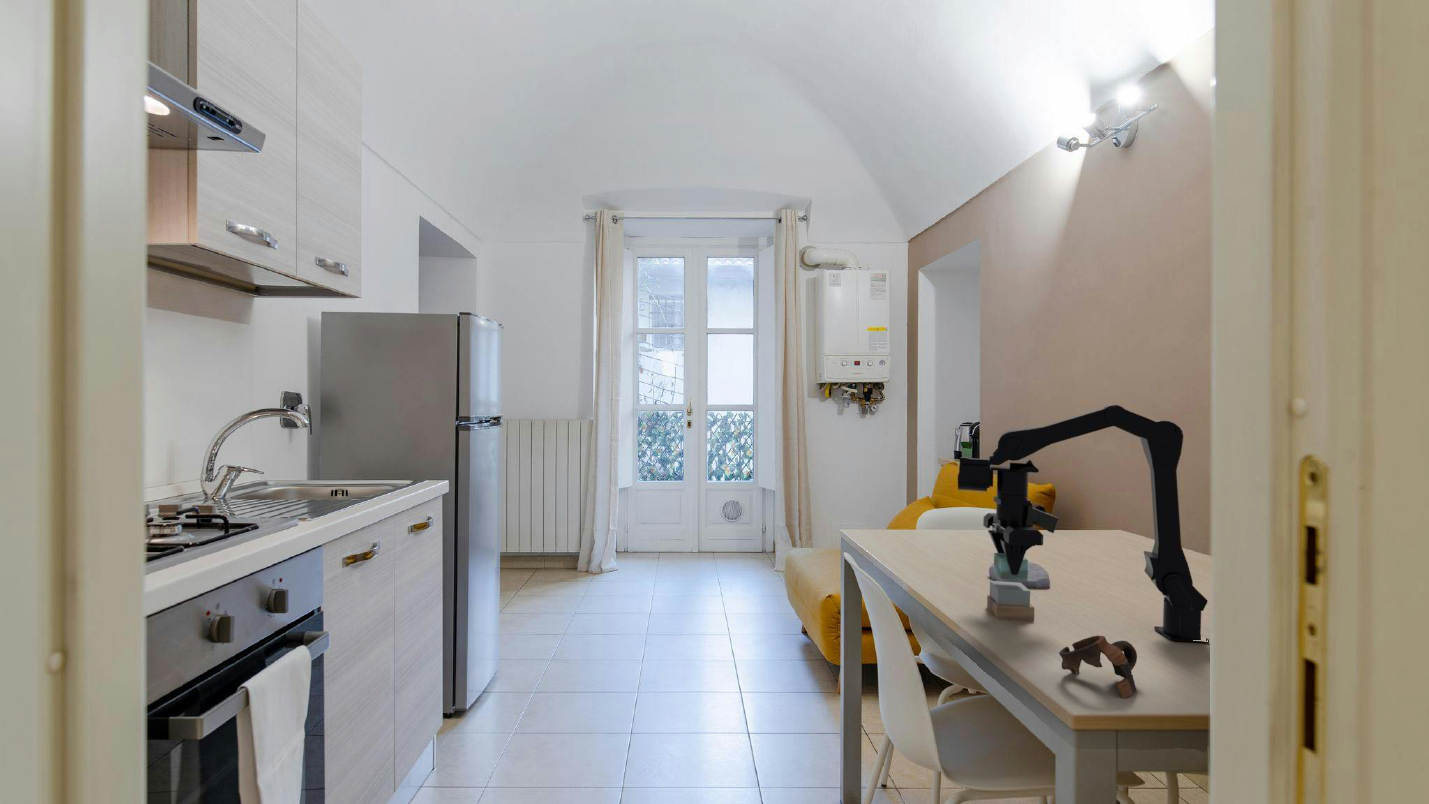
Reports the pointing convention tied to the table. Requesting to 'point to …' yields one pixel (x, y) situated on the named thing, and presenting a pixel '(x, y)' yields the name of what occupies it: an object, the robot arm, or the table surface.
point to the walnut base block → (1010, 610)
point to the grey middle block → (1009, 593)
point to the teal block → (1004, 571)
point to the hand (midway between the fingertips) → (1010, 571)
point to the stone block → (1035, 576)
